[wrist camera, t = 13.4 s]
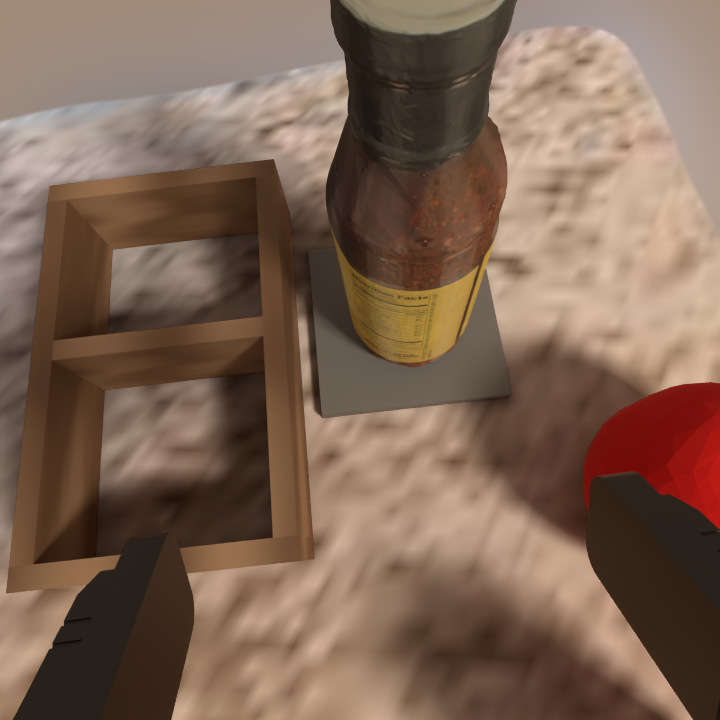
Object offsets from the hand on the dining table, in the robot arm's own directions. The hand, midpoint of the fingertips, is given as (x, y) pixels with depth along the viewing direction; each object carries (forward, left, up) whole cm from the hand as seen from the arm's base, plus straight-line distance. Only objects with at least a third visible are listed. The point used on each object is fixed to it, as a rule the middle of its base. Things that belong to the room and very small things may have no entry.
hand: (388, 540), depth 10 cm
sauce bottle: (+2, +11, -17) cm, 20 cm away
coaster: (+2, +12, -17) cm, 21 cm away
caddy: (-10, +10, -17) cm, 22 cm away
